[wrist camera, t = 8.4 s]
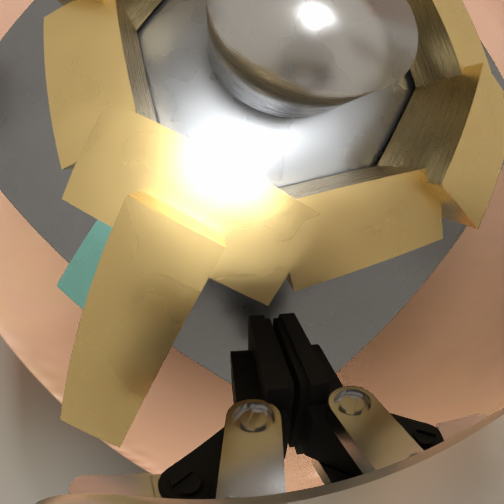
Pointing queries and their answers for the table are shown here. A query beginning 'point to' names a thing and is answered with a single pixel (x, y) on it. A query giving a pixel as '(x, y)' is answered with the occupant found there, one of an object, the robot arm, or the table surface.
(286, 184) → the housing
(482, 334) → the table surface
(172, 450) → the table surface
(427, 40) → the ring nut
